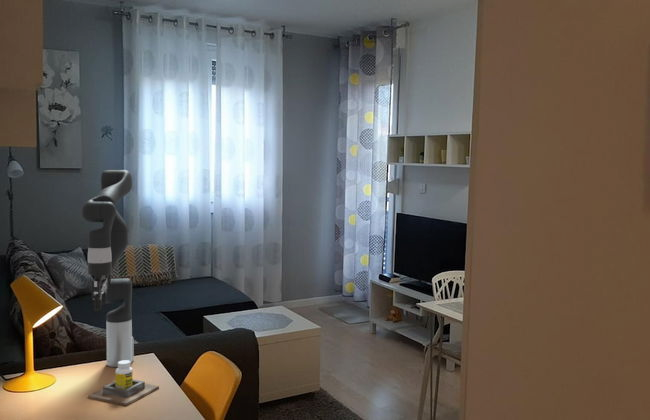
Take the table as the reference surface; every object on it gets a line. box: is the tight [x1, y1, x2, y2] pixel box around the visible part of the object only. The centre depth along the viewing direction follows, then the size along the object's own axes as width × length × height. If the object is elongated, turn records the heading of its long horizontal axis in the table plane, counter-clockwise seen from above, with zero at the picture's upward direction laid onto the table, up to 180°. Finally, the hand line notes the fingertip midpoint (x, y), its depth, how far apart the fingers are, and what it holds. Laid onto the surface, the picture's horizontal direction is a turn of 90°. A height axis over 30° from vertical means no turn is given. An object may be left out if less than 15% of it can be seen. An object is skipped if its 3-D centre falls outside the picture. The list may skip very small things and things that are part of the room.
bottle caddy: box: [87, 378, 160, 407], centre depth 186 cm, size 16×16×3 cm
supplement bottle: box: [114, 360, 133, 389], centre depth 186 cm, size 5×5×10 cm
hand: (100, 307), depth 188 cm, fingers open, 8 cm apart
